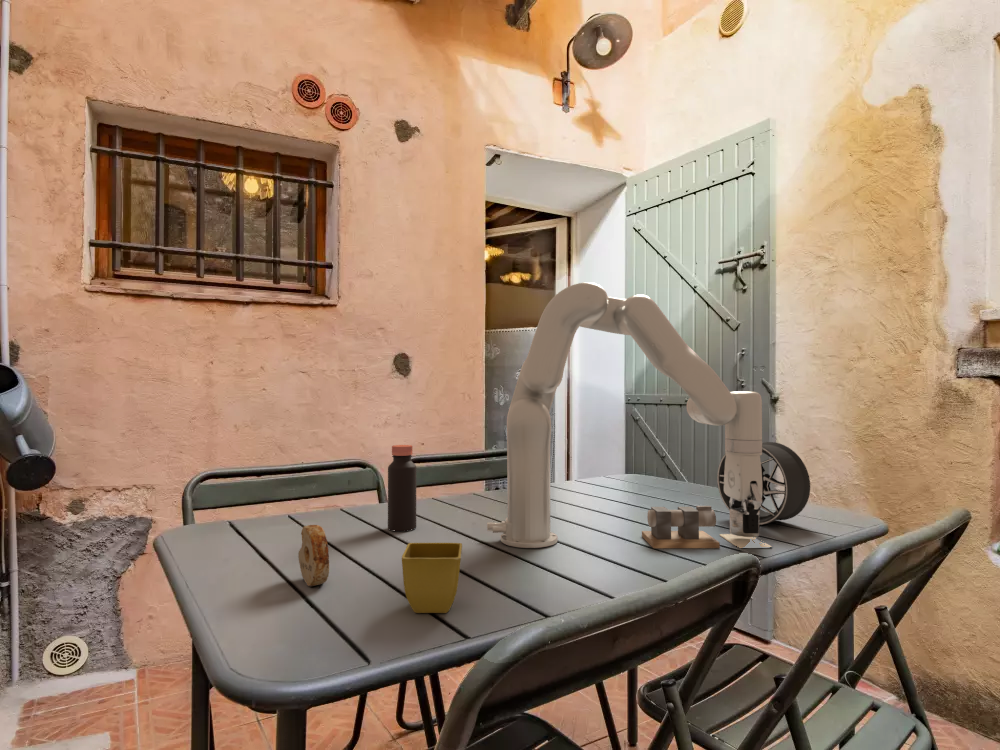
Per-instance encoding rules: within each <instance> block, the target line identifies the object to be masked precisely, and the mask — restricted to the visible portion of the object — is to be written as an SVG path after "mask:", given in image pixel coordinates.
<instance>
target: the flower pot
mask: <svg viewBox="0 0 1000 750" xmlns="http://www.w3.org/2000/svg"><path fill="white" fill-rule="evenodd" d="M462 551H463V543H461V542H409V543H407V545H406V547H405V550H404V552H403V553H402V556H401V567H402V577H403V578H402V579H403V587H404V588H403V589H404V592H405V593H404V594H405V597H406V599H407V601H408V602H407V603H408V604H409V606H410V608H411V609H412V611H413V612H414V613H416V614H447V613H448V612H450V610H451V607H452V606H453V603H454V601H455V598H456V595H457V592H458V587H459V586H458V585H459V579H460V577H459V576H460V569H461V561H462Z"/></svg>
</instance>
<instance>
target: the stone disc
mask: <svg viewBox="0 0 1000 750" xmlns="http://www.w3.org/2000/svg"><path fill="white" fill-rule="evenodd" d="M300 535H301V548H300V549H299V550H298V553H297V554H298V556H297V557H298V564H299V568H300V573H301V576H302V579H303V580H304V583H305V582H306V583H307V584H306V583H305V584H306V585H307V586H308V587H315V586H319V585H322V584H324V583H326V582H327V580H328V579H329V575H330V555H329V554H330V553H329V545H328V539H327V536H326V531H325V530H324V528H323V526H321V525H318V524H308V525H305V526H303V527H302V528H301V533H300Z"/></svg>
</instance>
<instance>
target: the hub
mask: <svg viewBox="0 0 1000 750" xmlns="http://www.w3.org/2000/svg"><path fill="white" fill-rule="evenodd" d="M743 514H745V513H744V508H731V509H730V511H729V534H733V535H737V536H743V537H756V538H757V537H759V536H760V531H759V532H758V533H744V532H743Z"/></svg>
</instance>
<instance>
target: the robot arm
mask: <svg viewBox="0 0 1000 750" xmlns="http://www.w3.org/2000/svg"><path fill="white" fill-rule="evenodd" d="M542 311H543V312H542V314H541V316H540V318H539V321H538V324H537V327H536V329H535V331H534V335H533V338H532V341H531V344H530V346H529V351H528V354H527V356H526V359H525V360H524V361H523V364H522V365H521V369H520V370H519V371H520V372H519V375H518V377H517V382H516V384H515V387H514V391H513V395H512V397H511V402H510V404H509V409H508V412H507V417H506V441H507V442H506V450H507V451H506V456H507V457H506V459H507V460H506V461H507V462H506V465H507V466H506V468H507V470H506V471H507V479H506V480H507V481H506V482H507V485H506V486H507V490H506V491H507V495H506V496H507V499H506V500H507V517H505V520H502V521H501V522H494V521H493V522H488V521H487V523H486V524H487V525H486V526H487V527H486V528H487V532H492V533H493V534H497V533H501V535H500V542H501V543H502V544H504V545H507V546H509V547H514V548H522V549H538V548H546V547H550V546H553V545H555V544H557V542H558V539H559V538H558V534H556V533H554V532H553V531H551V440H552V439H551V438H552V437H551V436H552V419H551V414H550V412H551V409H552V405H553V402H554V398H555V395H556V392H557V389H558V387H559V386H560V384H561V382H562V381H563V377H564V372H565V366H566V363H567V361H568V355H569V352H570V349H571V347H572V344H573V342H574V341H573V340H574V338H575V334H576V333H577V331H578V329H579V328H585V329H589V330H596V331H601V332H606V333H610V334H618V335H625V336H631V338H632V339H633V340H634V342H635V343H636V345H637V346H638V347H639V349H640V350H641V351H642V352H643V353H644V355H645V356H646V358H647V359H648V361H649V362H650V363H651V365H652V366H653V367H654V368H655V369H656V370H657V371H658V372H659V373H661V374H662V375H664V376H666V377H668V378H669V379H671V380H672V381H673V382H675V383H676V384H677V385H678V386H679V387H680V388H681V389H682V390H683V391H684V392H685V393H686V395H688V397H689V398H688V400H687V402H686V412H687V414H688V415H689V417H690V418H691V419H692V420H693V421H695V422H697V423H699V424H702V425H711V426H717V427H718V426H719V427H720V426H725V427H724V433H725V434H724V438H725V441H724V443H725V444H724V445H725V448H724V450H725V452H724V453H726V459H725V470H724V493H725V494H726V495H727V496H729V499H730V503H729V505H730V507H732V508H741V507H743V506H744V513H745V514H743V532H744V533H758V532H759V533H760V525H759V509H761V508H760V506H761V504H762V470H761V462H762V461H761V456H763V452H762V443H763V408H762V407H763V401H762V400H763V399H762V396H761V394H760V393H759V392H757V391H741V390H740V391H739V390H738V391H730V390H729V389H728V387H727V386H726V385H725V383H724V381H723V379H721V378H720V376H719V375H718V374H717V373H716V371H715V370H714V369H713V368H712V367H711V366H710V365H709V364H708V363H707V362H706V361H704V359H702V358H701V356H699V355H698V353H697V352H695V351H694V349H692V348H691V347H690V346H689V345H688V344H687V343H686V341H685V340H684V339H683V337H682V336H681V335H680V334H679V332H678V331H677V330H676V328H675V327H674V326H673V325H672V323H671V322H670V320H669V319H668V318H667V316H666V315H665V314H664V312H663V311H662V310H661V308H660V307H659V305H658V304H657V303H656V301H654V300H653V299H652V298H651V297H649V296H648V295H645V294H635V295H631V296H629V297H627V298H619V297H612V296H608V294H607V290H605V288H604V287H603V286H601V284H597V283H596V282H590V281H588V282H587V281H586V282H585V281H584V282H578V283H574V284H572V285H569V286H567V287H565V288H564V289H561V290H560V291H559V292H558V293H556V294H555V295H554V296H553V297H552V298H551V299H550V301H549V302H548V303H547V304H546V306H545V308H544V310H542ZM747 498H751V499H753V500H746V499H747ZM748 503H752V504H750V506H749V508H748ZM762 505H763V504H762ZM730 509H731V508H730Z"/></svg>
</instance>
